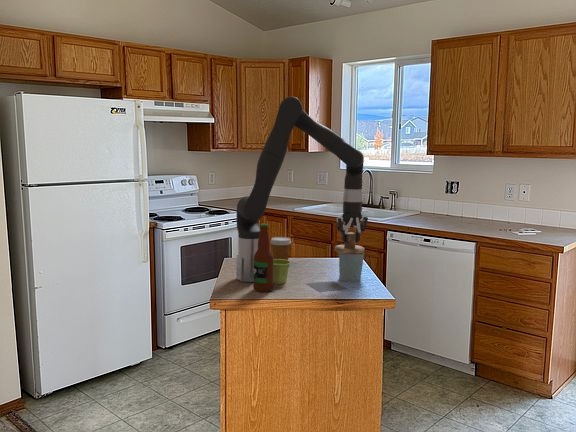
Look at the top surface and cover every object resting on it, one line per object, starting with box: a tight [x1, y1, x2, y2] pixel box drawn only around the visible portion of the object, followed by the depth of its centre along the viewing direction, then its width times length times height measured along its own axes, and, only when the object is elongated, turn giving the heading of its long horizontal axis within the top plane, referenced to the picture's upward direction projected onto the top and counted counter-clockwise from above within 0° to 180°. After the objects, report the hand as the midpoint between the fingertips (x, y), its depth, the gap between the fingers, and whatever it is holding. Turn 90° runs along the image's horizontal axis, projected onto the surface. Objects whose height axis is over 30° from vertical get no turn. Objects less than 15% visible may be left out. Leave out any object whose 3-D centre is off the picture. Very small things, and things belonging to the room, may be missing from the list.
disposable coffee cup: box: [269, 236, 292, 260], centre depth 235 cm, size 10×10×12 cm
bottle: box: [253, 223, 274, 293], centre depth 194 cm, size 7×7×25 cm
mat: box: [306, 280, 348, 293], centre depth 200 cm, size 12×12×1 cm
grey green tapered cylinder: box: [338, 252, 365, 283], centre depth 211 cm, size 10×10×12 cm
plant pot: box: [273, 259, 292, 285], centre depth 205 cm, size 9×9×9 cm
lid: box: [334, 231, 366, 254], centre depth 211 cm, size 12×12×7 cm
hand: (350, 242), depth 210 cm, fingers open, 4 cm apart
